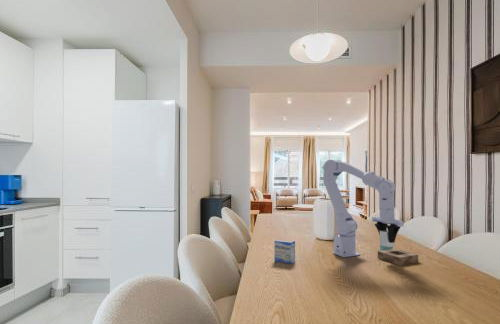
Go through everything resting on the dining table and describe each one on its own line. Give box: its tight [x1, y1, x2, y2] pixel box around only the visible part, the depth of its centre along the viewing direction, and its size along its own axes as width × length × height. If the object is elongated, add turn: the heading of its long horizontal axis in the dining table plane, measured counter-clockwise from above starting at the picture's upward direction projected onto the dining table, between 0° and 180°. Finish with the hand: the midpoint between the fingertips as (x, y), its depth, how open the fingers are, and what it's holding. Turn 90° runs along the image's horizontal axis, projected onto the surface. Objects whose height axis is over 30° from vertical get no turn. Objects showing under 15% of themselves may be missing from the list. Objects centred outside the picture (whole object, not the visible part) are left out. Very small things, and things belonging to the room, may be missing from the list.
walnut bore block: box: [377, 248, 419, 266], centre depth 126 cm, size 11×11×3 cm
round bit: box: [379, 244, 394, 251], centre depth 140 cm, size 6×6×6 cm
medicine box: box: [273, 239, 296, 265], centre depth 125 cm, size 8×4×9 cm, turn 62°
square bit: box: [379, 229, 396, 247], centre depth 124 cm, size 4×4×6 cm
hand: (387, 241), depth 124 cm, fingers closed on square bit, 4 cm apart
